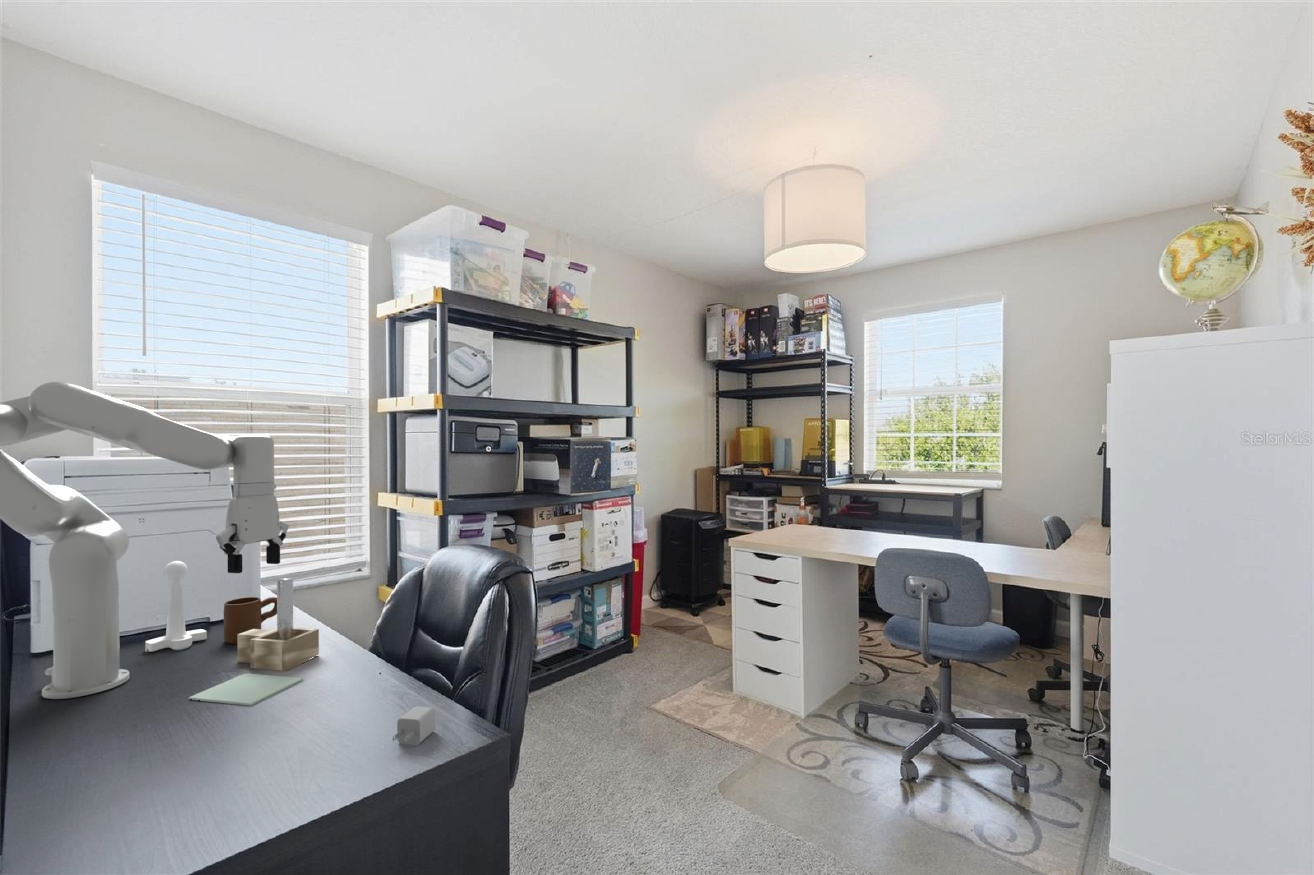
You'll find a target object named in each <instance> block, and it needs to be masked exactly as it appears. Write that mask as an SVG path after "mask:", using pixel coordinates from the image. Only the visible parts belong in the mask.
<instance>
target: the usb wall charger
mask: <svg viewBox="0 0 1314 875" xmlns="http://www.w3.org/2000/svg"><path fill="white" fill-rule="evenodd" d="M435 730H436V711H435V709H434V708H433V707H430V706H429V707H428V706H414V707H412V708H411V709H410V710H409V711H407V712H406V713H405V714H404V715H402V716H401V717H400V718H398V719H397V721H396V733H395V734H394V735H393V736H392V742H394V741H396V740H397V742H398V743H399V744H404V745H413V746H414V745H415V746H418V745H420V744H421V743H422V742H423V741H424V740H425V739H426V738H428V737H429V736H430V735H431V734H432V733H433V732H435Z"/></svg>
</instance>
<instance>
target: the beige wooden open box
mask: <svg viewBox="0 0 1314 875" xmlns="http://www.w3.org/2000/svg"><path fill="white" fill-rule="evenodd" d="M319 631H320V630H319V628H307V627H306V628H304V627H293V638H291V639H288V640H277V629H262V628H261V629H252V630H249V631H246V632H243V633H240V634H237V643H236V644H237V663H245V664H247V663H248V664H250V665H249V666H250V669H259V670H269V671H280V672H281V671H283V672H288V671H290V670H291V669H294V668H296V667H298V666H300V665H302V664H301V663H303V662H305V663H306V661H307V660H309V659H310V658H312V657H315V656H316V655H318V654H319V655H320V646H319V644H320V639H319V638H320V635H319V634H320V632H319ZM309 661H310V660H309ZM307 662H308V661H307ZM299 664H300V665H299ZM303 664H304V663H303Z"/></svg>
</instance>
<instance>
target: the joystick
mask: <svg viewBox="0 0 1314 875" xmlns="http://www.w3.org/2000/svg"><path fill="white" fill-rule="evenodd" d="M187 574H188V566H187V564H186V563H185V562H183V561H181V560H173V561H170V562H169V563H167V564H166V565H165V566H164V569H163V575H164V576H165V578H166V579H168V582H169V585H168V600H167V617H166V628H165V629H166V633H165V635H163V636H159V637H155V638H152V639H148V640H145V644H144V645H145V652H146V653H149V652H151V653H152V652H155V651H158V650H163V649H165V648H166V649H167V648H170V649H172V650H174V651H180V650H181V651H182V650H185V649H188V648H190V646H192V645H193V642H196V641H202V640H206V639H207V638H208V636H207V635H208V634H207V633H208V632H207V630H205V629H202V628H200V629H192V630H187V631H186V619H185V618H186V617H185V606H184V594H183V593H184V592H183V578H184V577H185V576H186V575H187Z"/></svg>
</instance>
